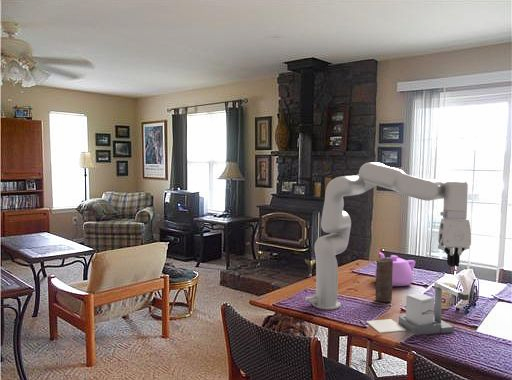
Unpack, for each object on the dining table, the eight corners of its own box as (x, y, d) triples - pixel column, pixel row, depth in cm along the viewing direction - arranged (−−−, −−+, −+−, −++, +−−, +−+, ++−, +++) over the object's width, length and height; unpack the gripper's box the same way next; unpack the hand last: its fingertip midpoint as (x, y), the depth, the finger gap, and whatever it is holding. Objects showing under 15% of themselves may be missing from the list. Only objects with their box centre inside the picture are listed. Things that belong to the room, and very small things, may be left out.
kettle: (423, 286, 211) (424, 258, 210) (386, 289, 206) (387, 260, 205) (399, 275, 233) (399, 249, 232) (365, 277, 228) (365, 250, 227)
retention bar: (470, 299, 144) (470, 294, 144) (462, 300, 144) (462, 294, 143) (439, 286, 160) (439, 281, 160) (432, 286, 160) (432, 281, 160)
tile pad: (379, 333, 153) (379, 332, 153) (366, 322, 164) (366, 321, 164) (406, 330, 155) (406, 329, 155) (391, 319, 166) (391, 319, 166)
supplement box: (420, 333, 153) (421, 300, 152) (404, 326, 160) (405, 294, 159) (433, 329, 156) (434, 297, 156) (418, 323, 163) (419, 292, 162)
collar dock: (415, 335, 151) (416, 294, 150) (397, 323, 163) (398, 285, 162) (453, 332, 154) (454, 292, 153) (433, 320, 166) (434, 282, 165)
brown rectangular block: (392, 304, 184) (393, 260, 183) (376, 303, 186) (376, 260, 184) (390, 299, 192) (391, 257, 190) (374, 297, 193) (375, 256, 192)
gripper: (440, 216, 141) (438, 269, 142) (481, 216, 143) (479, 267, 144) (428, 214, 148) (427, 263, 149) (468, 213, 150) (466, 262, 151)
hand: (453, 265), depth 147 cm, fingers closed
